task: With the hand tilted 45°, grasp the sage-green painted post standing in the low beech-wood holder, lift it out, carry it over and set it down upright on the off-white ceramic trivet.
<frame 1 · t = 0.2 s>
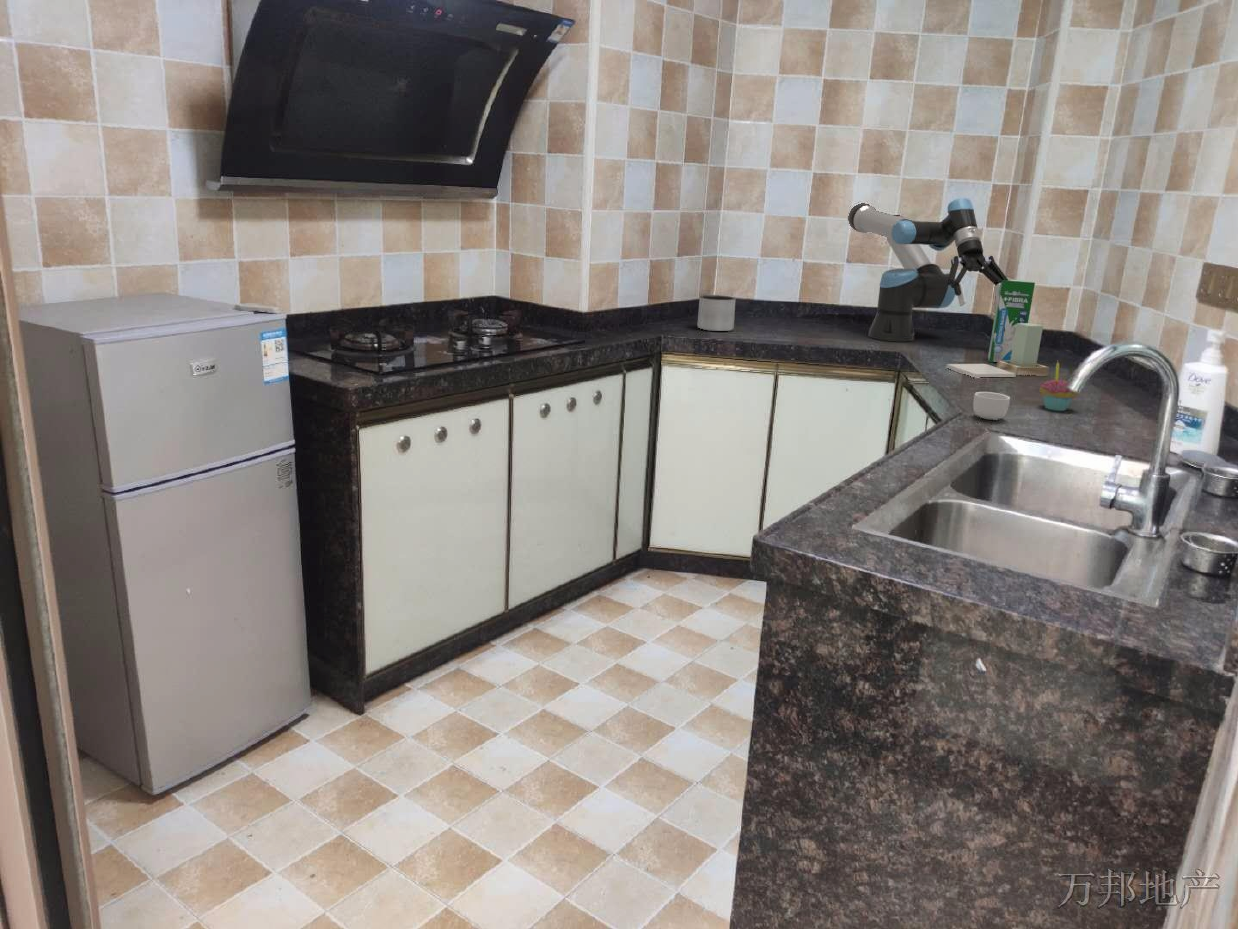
hand: (982, 304, 293), 16 cm above the table, tool tilted 35°, fingers open, 13 cm apart
post: (1025, 348, 269), in the holder
planter: (715, 330, 322), on the table
holder: (1021, 372, 271), on the table
teacup: (986, 417, 216), on the table
trivet: (980, 372, 267), on the table
cupcake: (1054, 409, 227), on the table
milk carton: (1003, 362, 287), on the table
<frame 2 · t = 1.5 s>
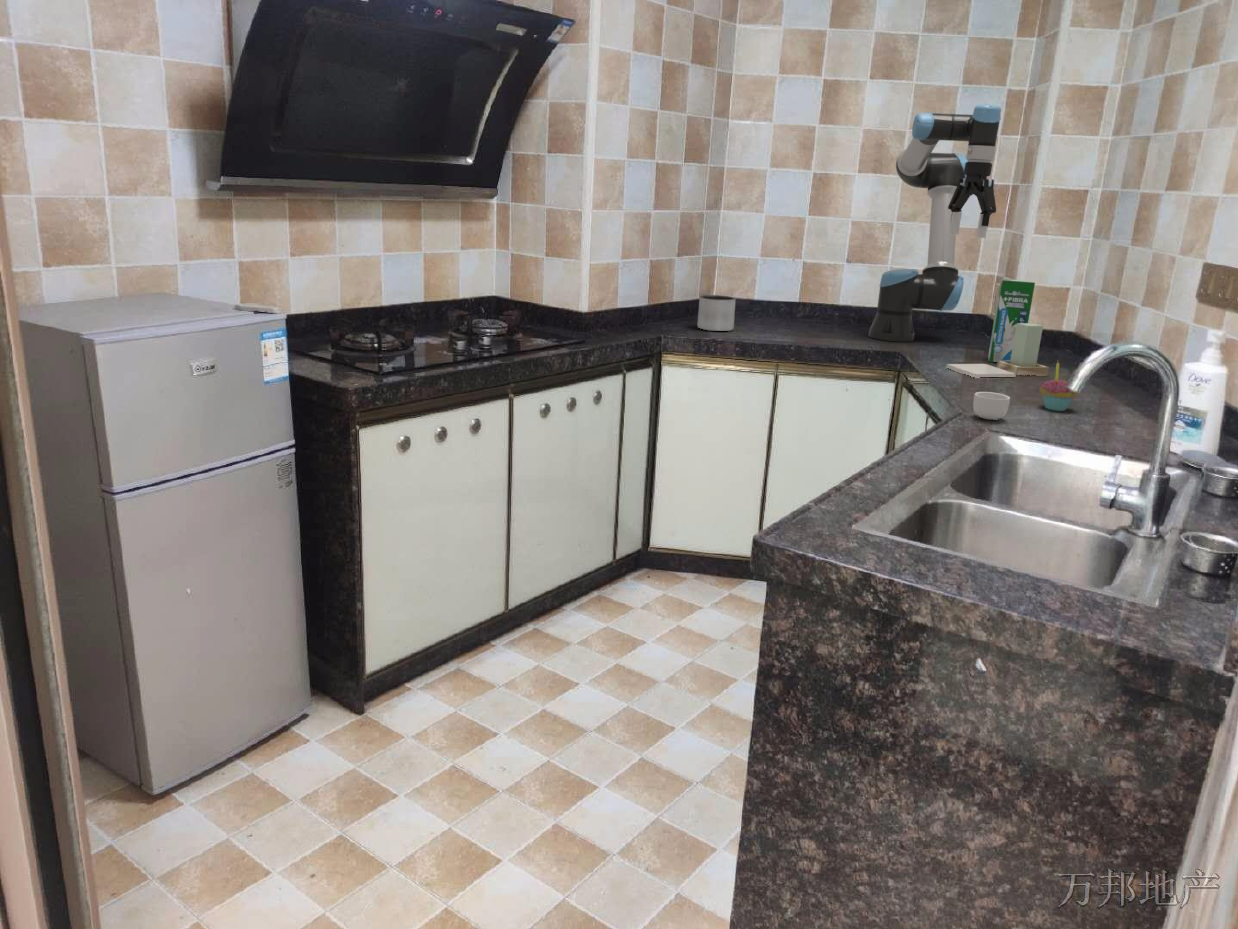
hand: (966, 235, 278), 37 cm above the table, tool pointing down, fingers open, 13 cm apart
nothing on the table moved.
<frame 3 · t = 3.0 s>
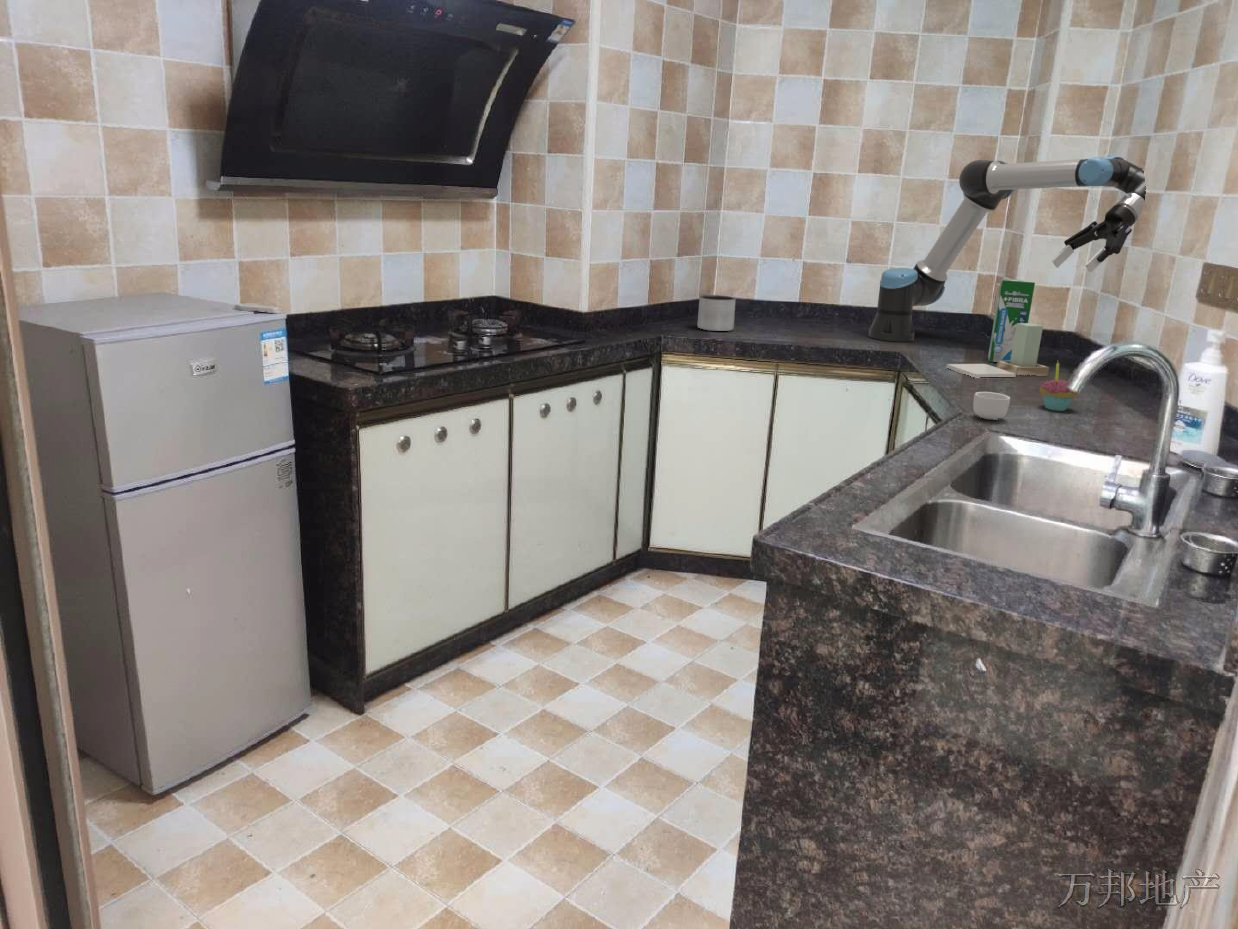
hand: (1070, 266, 264), 31 cm above the table, tool tilted 45°, fingers open, 13 cm apart
nothing on the table moved.
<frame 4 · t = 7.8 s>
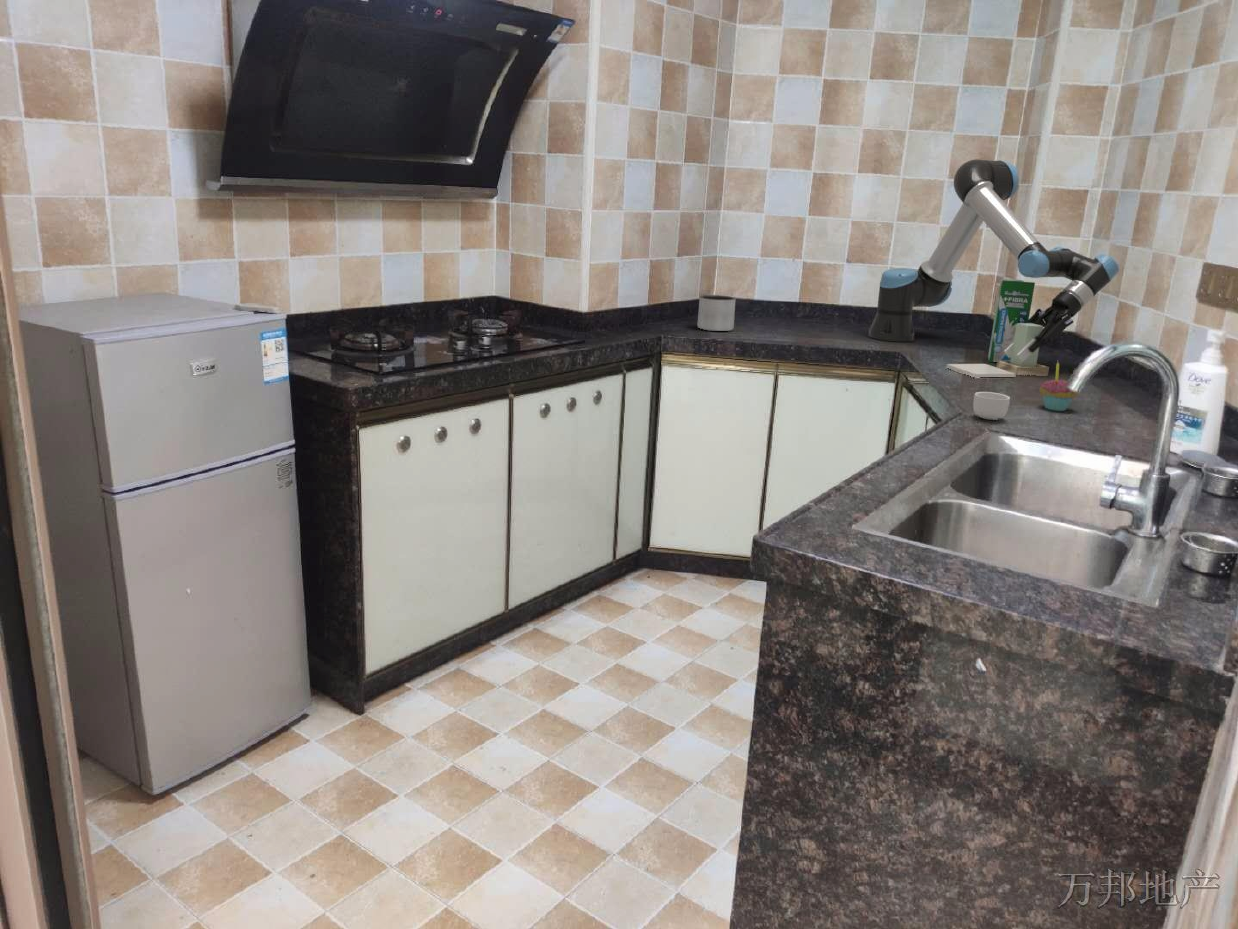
hand: (1013, 356, 268), 5 cm above the table, tool tilted 45°, fingers closed on post, 5 cm apart
post: (1025, 348, 269), in the holder, touching gripper
everything else where it was.
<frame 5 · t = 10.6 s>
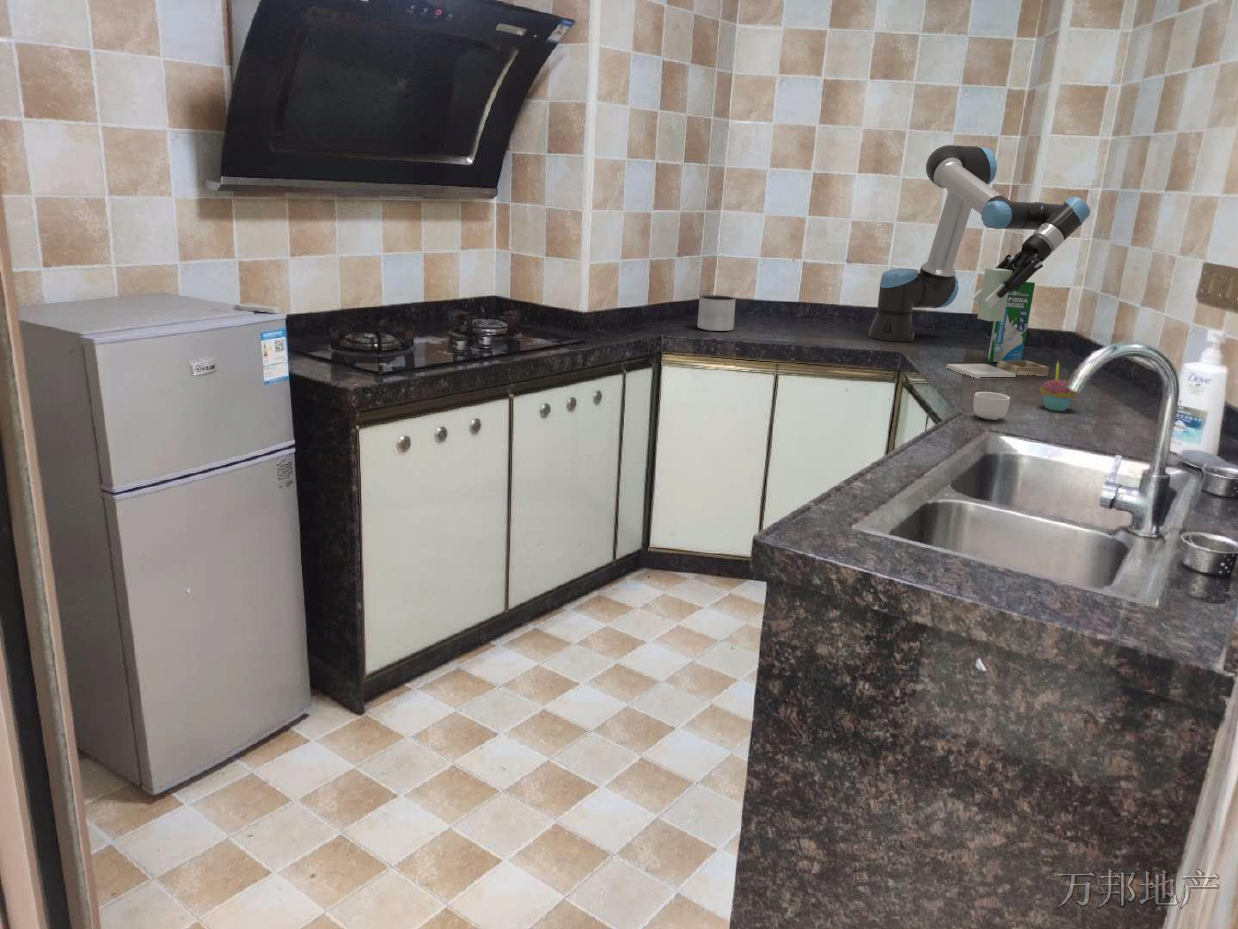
hand: (981, 302, 260), 20 cm above the table, tool tilted 45°, fingers closed on post, 5 cm apart
post: (994, 294, 260), point 22 cm above the table, touching gripper
everything else where it was.
when the fingers open (7 cm above the table, at t = 13.4 s): post stays where it is, resting on trivet.
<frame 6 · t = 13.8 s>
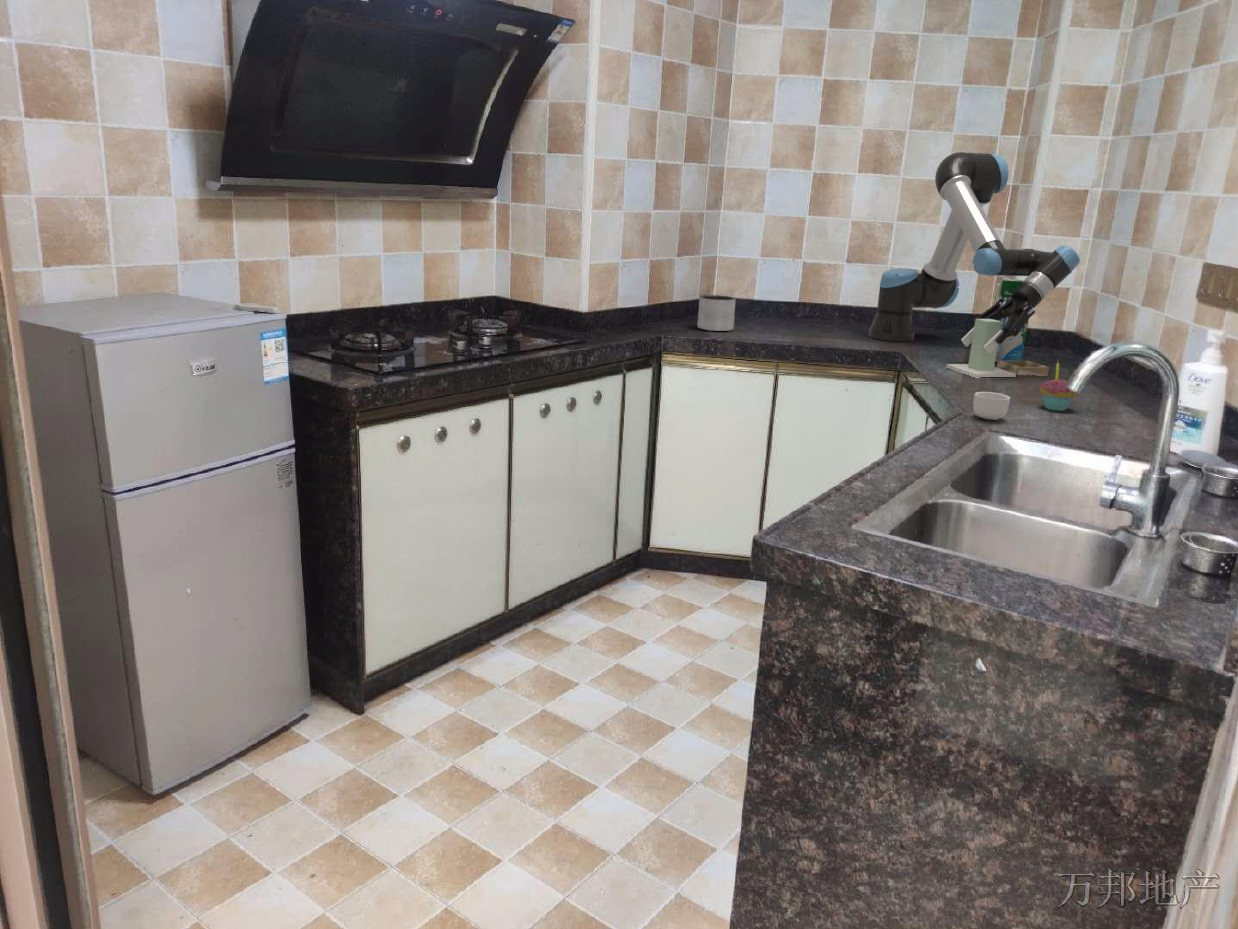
hand: (975, 346, 264), 8 cm above the table, tool tilted 45°, fingers open, 10 cm apart
post: (984, 344, 265), on the trivet, point 8 cm above the table
everything else where it was.
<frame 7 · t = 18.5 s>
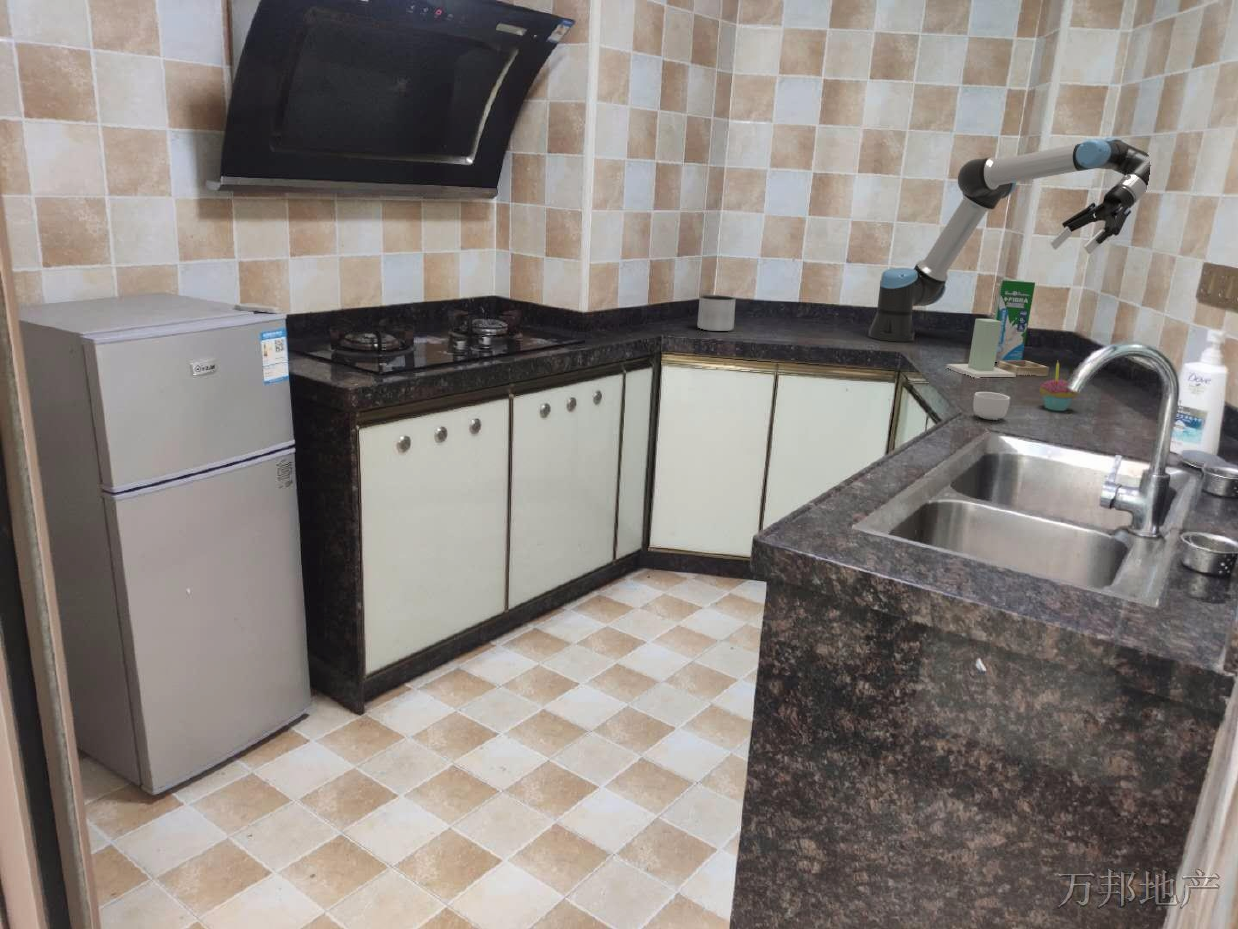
hand: (1069, 248, 262), 36 cm above the table, tool tilted 45°, fingers open, 13 cm apart
nothing on the table moved.
at the end: post inside the target area on the trivet (0.0 cm from its centre), point 8.2 cm above the trivet's base; post tilted 0°; the gripper is holding nothing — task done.
